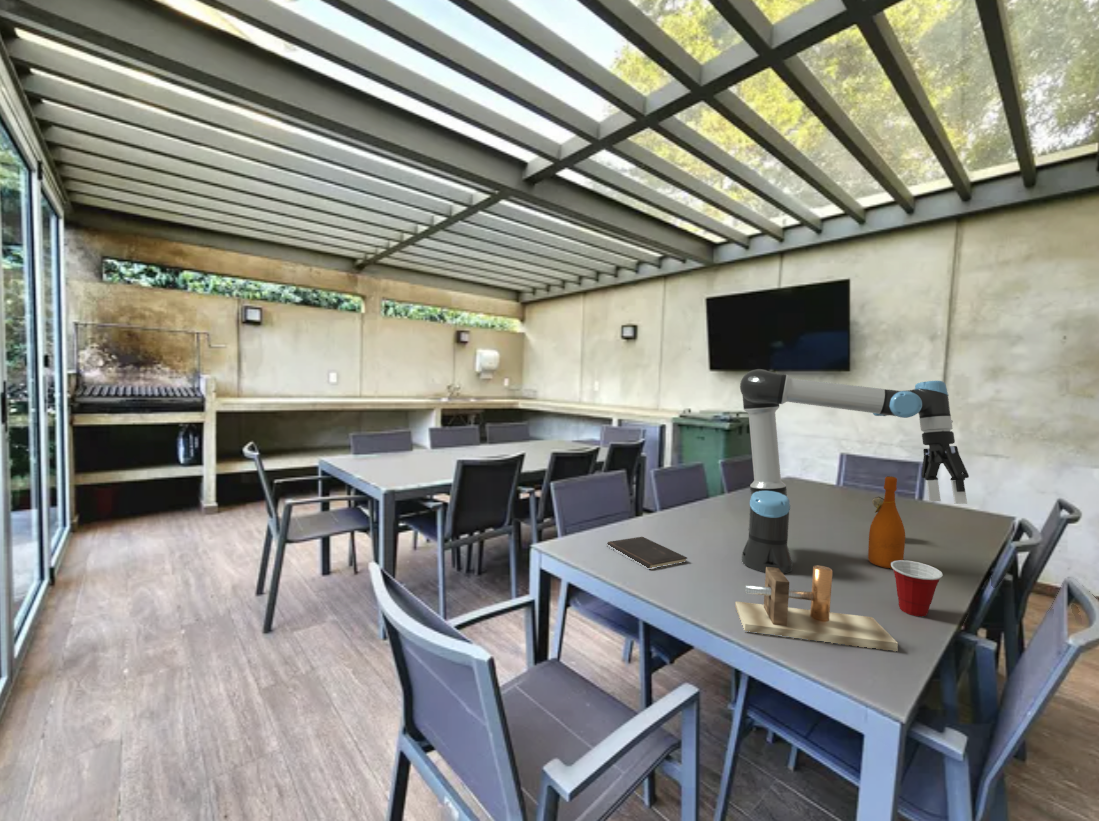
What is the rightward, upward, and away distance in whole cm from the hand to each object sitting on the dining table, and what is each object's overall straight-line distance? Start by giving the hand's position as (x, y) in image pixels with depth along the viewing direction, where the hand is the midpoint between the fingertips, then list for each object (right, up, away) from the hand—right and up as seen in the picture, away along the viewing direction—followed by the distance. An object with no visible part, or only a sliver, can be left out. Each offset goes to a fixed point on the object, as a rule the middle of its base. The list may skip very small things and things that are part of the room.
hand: (947, 502), depth 140 cm
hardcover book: (-86, -23, +21) cm, 91 cm away
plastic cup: (-23, -26, -16) cm, 38 cm away
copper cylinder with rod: (-61, -22, -25) cm, 70 cm away
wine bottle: (-6, -25, +18) cm, 31 cm away
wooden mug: (+13, -24, +46) cm, 53 cm away
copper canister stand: (-56, -25, -26) cm, 67 cm away
